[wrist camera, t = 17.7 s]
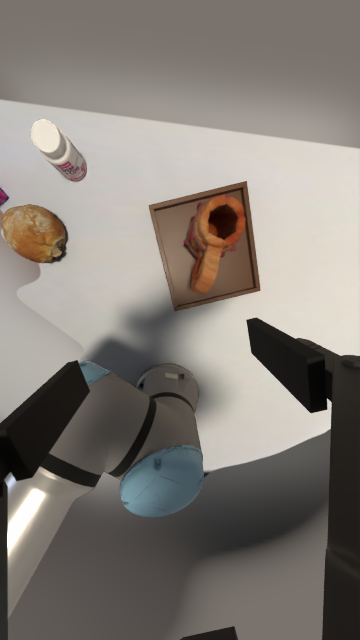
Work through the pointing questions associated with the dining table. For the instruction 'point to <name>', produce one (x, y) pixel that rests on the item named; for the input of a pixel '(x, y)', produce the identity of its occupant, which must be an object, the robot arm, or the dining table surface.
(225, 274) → the tray
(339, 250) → the dining table surface
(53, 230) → the bread roll
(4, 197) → the supplement box
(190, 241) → the mug
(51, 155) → the pill bottle
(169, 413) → the robot arm
